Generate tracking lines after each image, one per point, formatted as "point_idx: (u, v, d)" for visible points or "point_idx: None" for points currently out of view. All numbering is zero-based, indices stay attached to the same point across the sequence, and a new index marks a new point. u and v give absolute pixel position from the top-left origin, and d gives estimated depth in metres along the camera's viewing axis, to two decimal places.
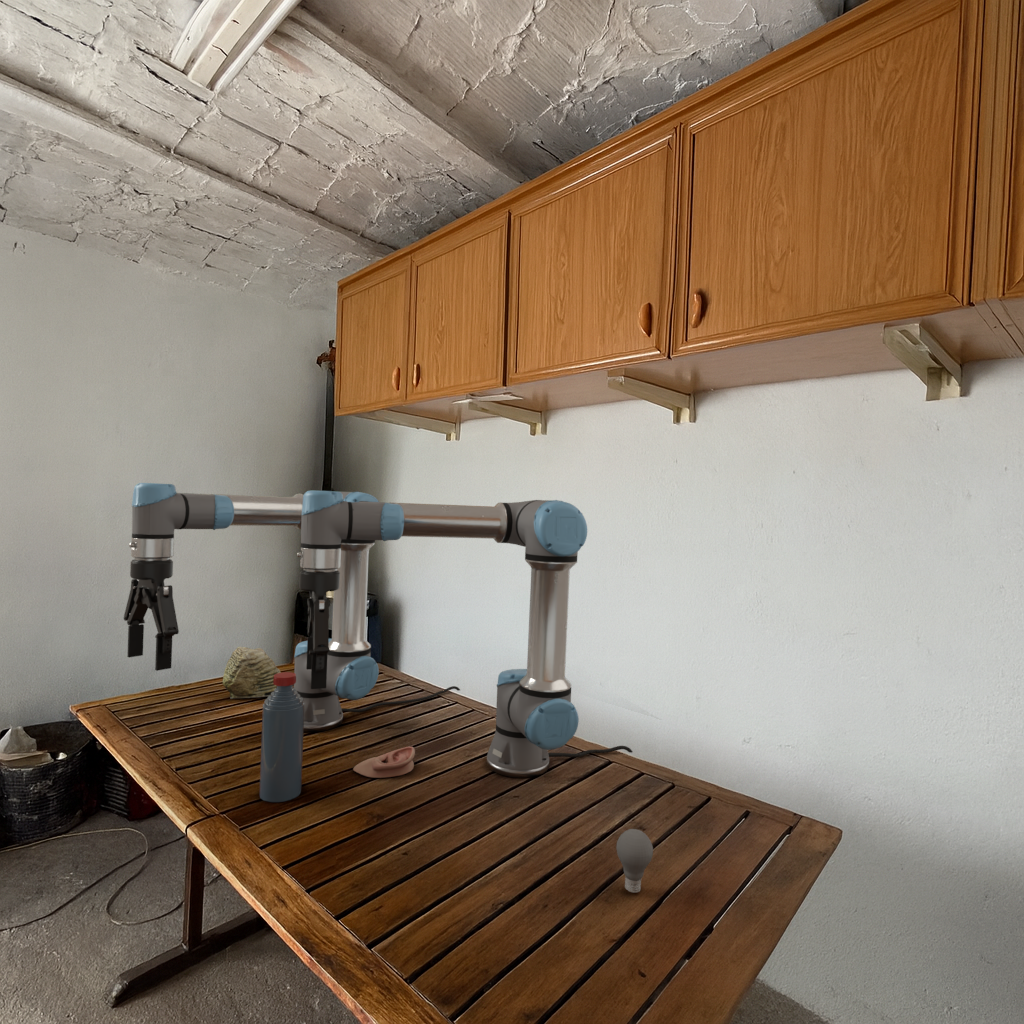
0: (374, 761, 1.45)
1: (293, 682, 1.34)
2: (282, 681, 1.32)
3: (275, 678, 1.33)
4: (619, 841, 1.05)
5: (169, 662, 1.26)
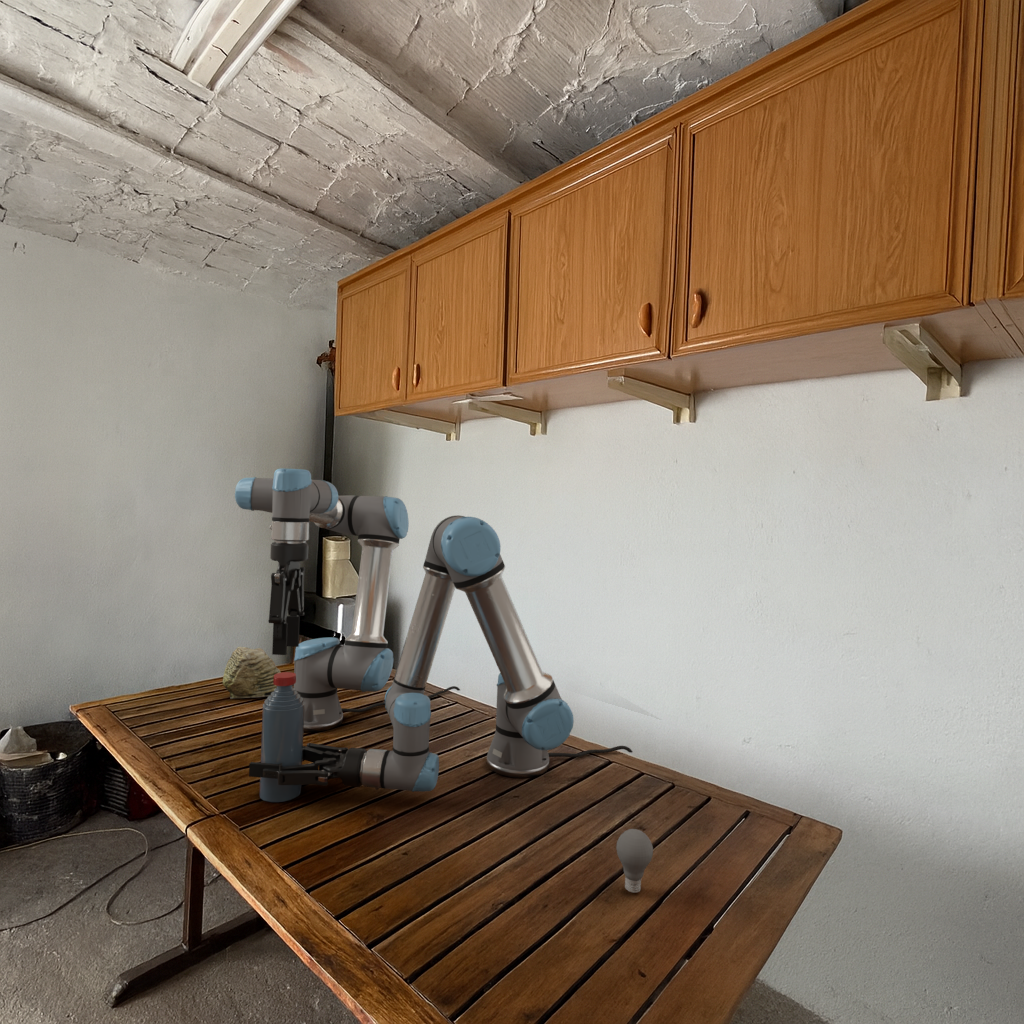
0: None
1: (293, 682, 1.34)
2: (282, 681, 1.32)
3: (275, 678, 1.33)
4: (619, 841, 1.05)
5: (283, 649, 1.30)
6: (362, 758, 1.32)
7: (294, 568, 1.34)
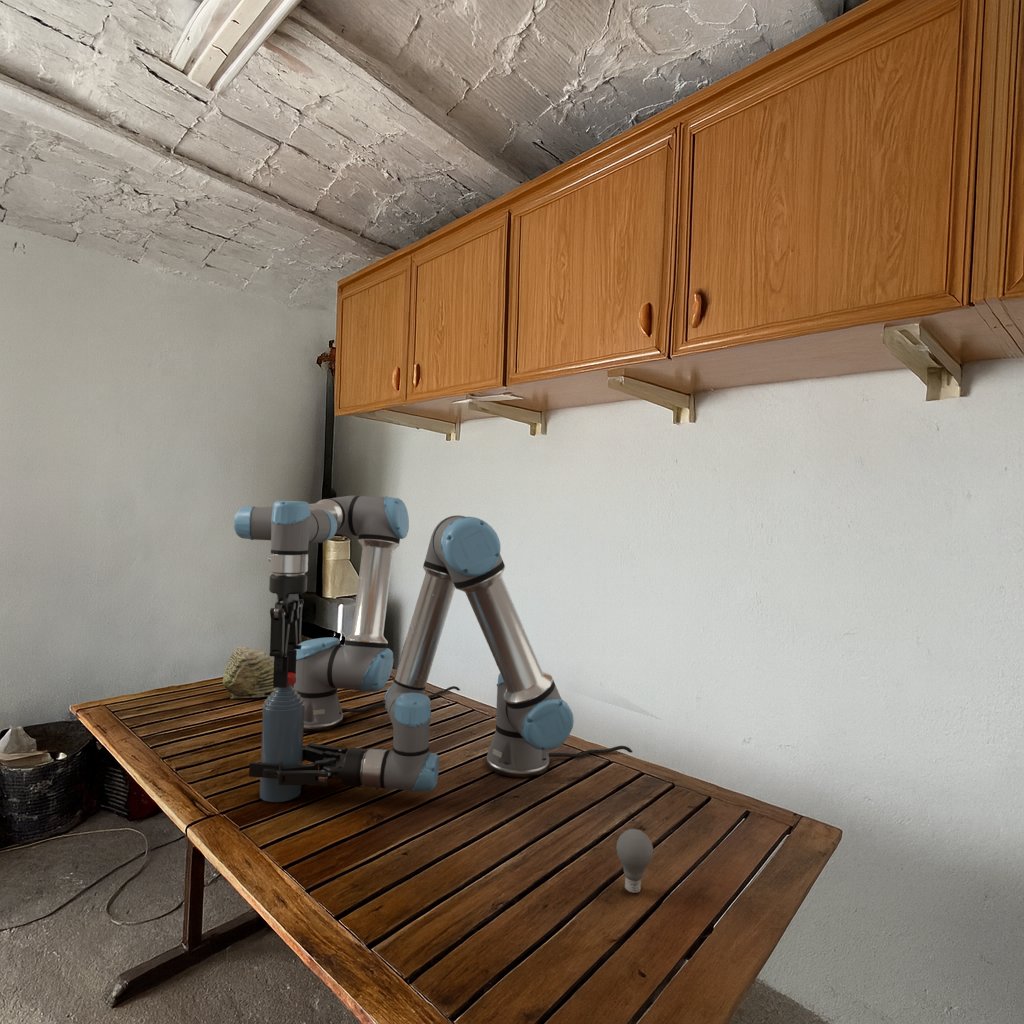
0: None
1: (293, 682, 1.34)
2: None
3: None
4: (619, 841, 1.05)
5: (284, 681, 1.31)
6: (362, 758, 1.32)
7: (293, 600, 1.34)
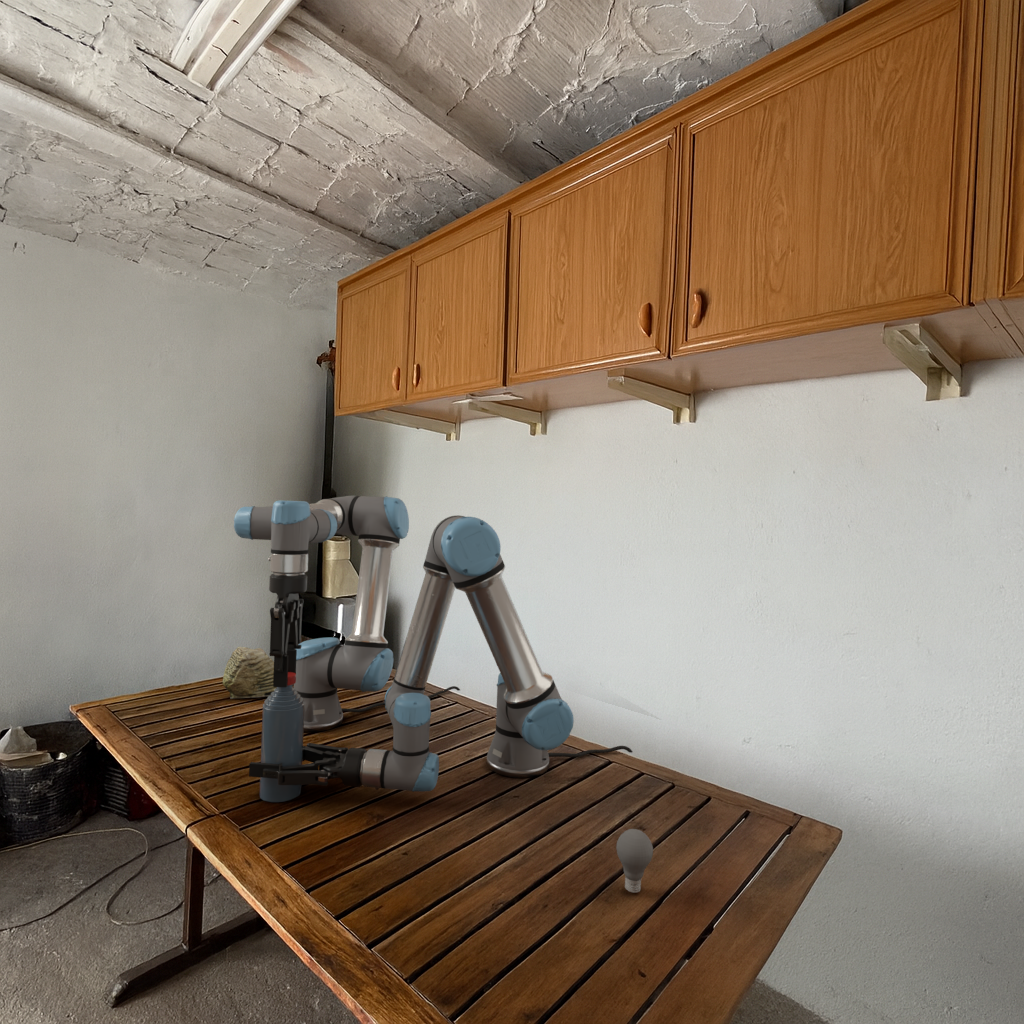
0: None
1: None
2: (295, 678, 1.34)
3: (289, 678, 1.33)
4: (619, 841, 1.05)
5: (284, 681, 1.31)
6: (362, 758, 1.32)
7: (293, 600, 1.34)
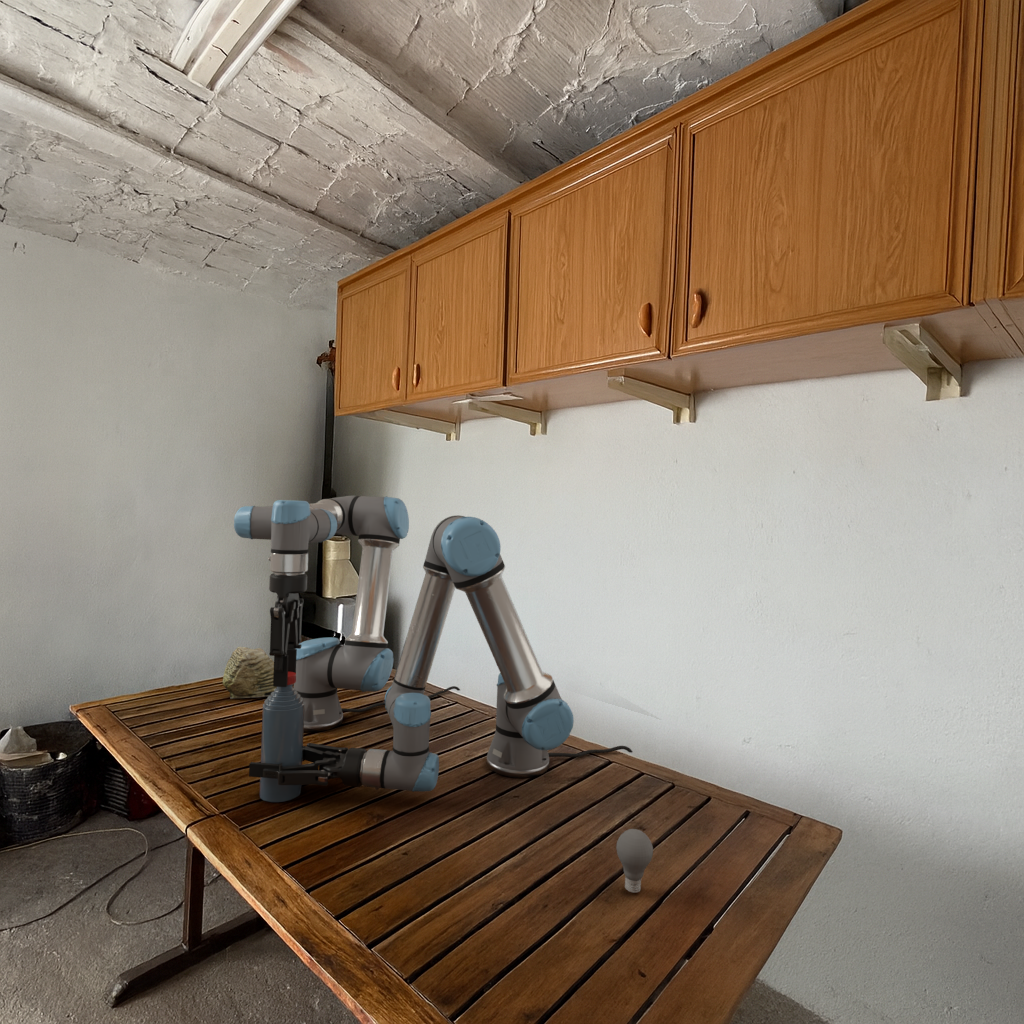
0: None
1: None
2: None
3: None
4: (619, 841, 1.05)
5: (284, 681, 1.31)
6: (362, 758, 1.32)
7: (293, 599, 1.34)
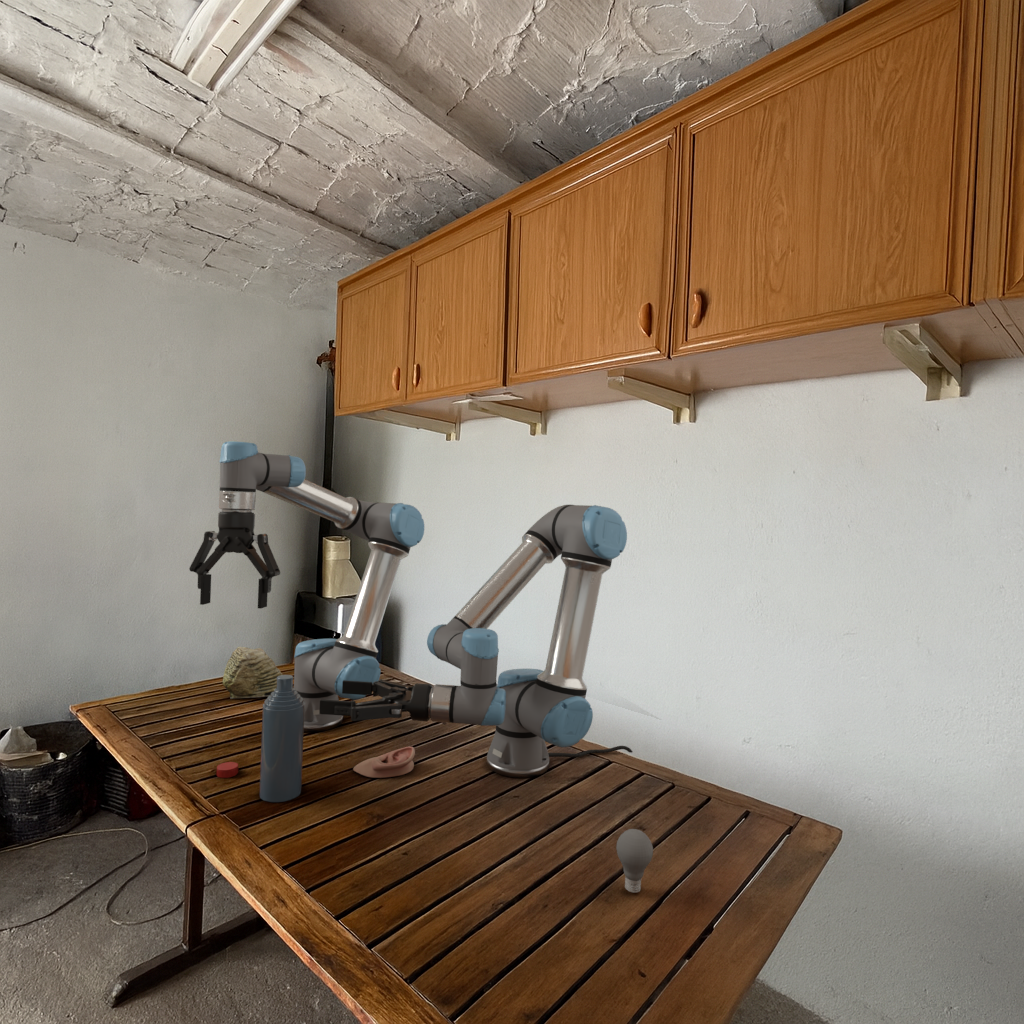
0: (374, 761, 1.45)
1: None
2: (234, 771, 1.42)
3: (226, 771, 1.41)
4: (619, 841, 1.05)
5: (266, 601, 1.42)
6: (430, 692, 1.30)
7: None
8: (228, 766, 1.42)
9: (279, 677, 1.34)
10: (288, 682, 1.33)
